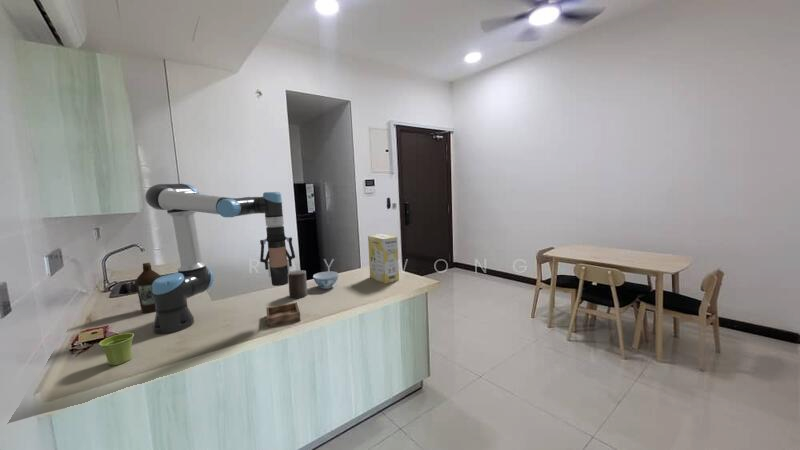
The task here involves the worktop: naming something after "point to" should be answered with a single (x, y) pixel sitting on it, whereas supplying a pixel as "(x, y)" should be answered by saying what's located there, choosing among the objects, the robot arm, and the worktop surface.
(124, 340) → the plant pot
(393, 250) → the pasta box
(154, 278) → the olive oil
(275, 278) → the travel mug
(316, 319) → the worktop surface
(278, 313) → the walnut caddy
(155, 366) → the worktop surface
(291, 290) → the pillar candle
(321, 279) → the chinaware
